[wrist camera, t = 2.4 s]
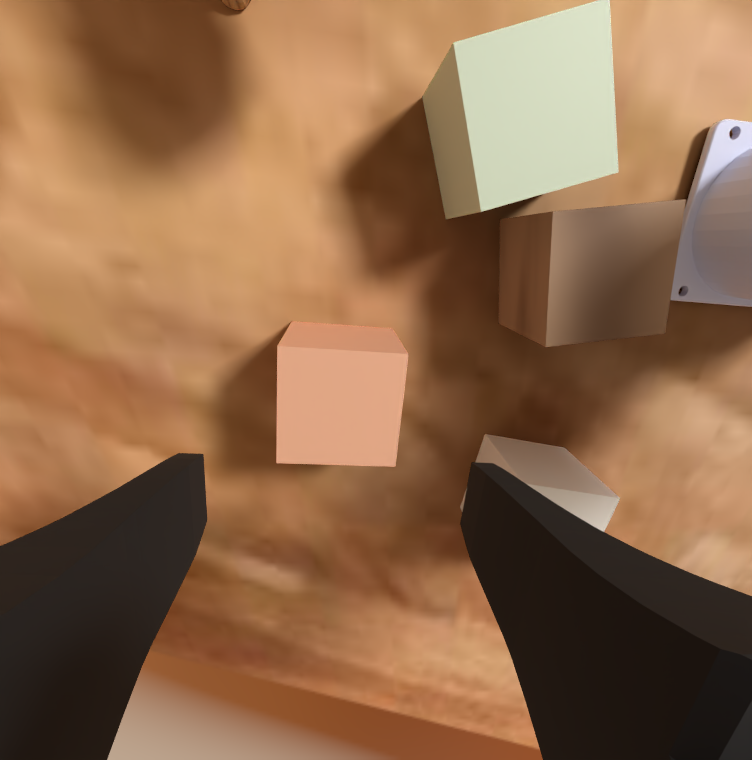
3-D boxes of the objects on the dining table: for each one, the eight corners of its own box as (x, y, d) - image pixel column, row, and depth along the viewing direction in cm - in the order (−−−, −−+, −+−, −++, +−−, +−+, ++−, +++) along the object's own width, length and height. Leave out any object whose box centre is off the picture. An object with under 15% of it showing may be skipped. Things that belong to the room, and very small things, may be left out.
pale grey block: (563, 446, 23) (620, 498, 19) (534, 516, 25) (580, 581, 20) (484, 433, 23) (522, 483, 18) (459, 506, 24) (488, 570, 19)
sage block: (534, 65, 17) (609, -3, 12) (548, 189, 19) (618, 172, 14) (421, 97, 17) (453, 42, 12) (445, 219, 19) (481, 211, 14)
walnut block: (600, 209, 19) (685, 199, 14) (591, 313, 21) (665, 333, 16) (499, 219, 19) (552, 211, 14) (498, 323, 21) (545, 347, 16)
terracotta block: (392, 327, 20) (408, 354, 15) (383, 418, 22) (395, 466, 17) (292, 320, 20) (277, 346, 15) (290, 413, 21) (276, 463, 17)
